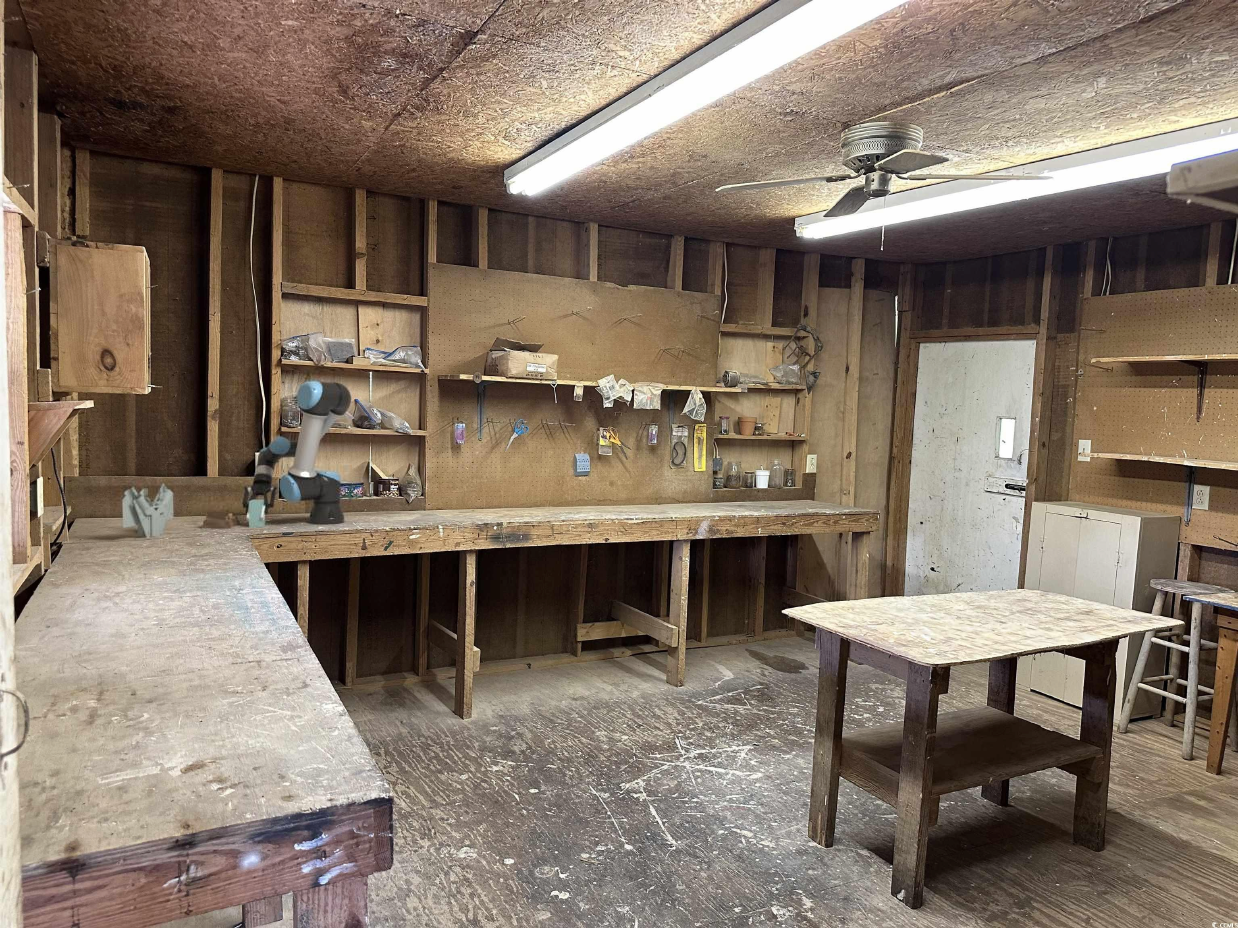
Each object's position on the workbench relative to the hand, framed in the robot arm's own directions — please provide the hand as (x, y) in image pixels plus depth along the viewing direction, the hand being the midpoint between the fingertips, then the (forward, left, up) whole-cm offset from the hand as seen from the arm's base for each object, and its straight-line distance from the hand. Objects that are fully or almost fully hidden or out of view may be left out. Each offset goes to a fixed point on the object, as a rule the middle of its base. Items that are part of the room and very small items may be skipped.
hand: (255, 519), depth 350 cm
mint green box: (+1, -3, -3) cm, 5 cm away
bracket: (+24, +33, -3) cm, 41 cm away
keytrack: (+15, +1, -3) cm, 16 cm away
